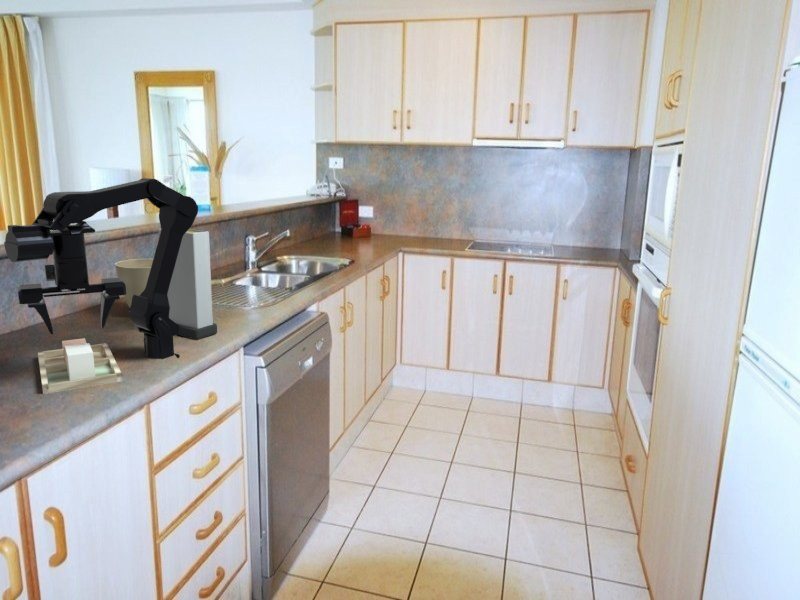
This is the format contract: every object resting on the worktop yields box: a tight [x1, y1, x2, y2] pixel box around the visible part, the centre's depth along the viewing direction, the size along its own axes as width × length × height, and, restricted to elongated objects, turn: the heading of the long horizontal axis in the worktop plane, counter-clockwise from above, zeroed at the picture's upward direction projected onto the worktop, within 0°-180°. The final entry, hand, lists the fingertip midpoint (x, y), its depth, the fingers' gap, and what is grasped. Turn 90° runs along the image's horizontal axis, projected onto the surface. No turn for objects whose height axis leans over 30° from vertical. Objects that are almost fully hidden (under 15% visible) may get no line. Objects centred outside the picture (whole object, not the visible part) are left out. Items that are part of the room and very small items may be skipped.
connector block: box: [65, 342, 95, 380], centre depth 116 cm, size 4×7×6 cm, turn 34°
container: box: [158, 228, 218, 340], centre depth 150 cm, size 7×18×30 cm, turn 62°
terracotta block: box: [61, 337, 87, 364], centre depth 125 cm, size 4×4×4 cm
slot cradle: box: [37, 342, 123, 395], centre depth 121 cm, size 23×14×2 cm, turn 34°
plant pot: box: [114, 258, 154, 309], centre depth 166 cm, size 15×15×16 cm
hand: (77, 330), depth 115 cm, fingers open, 9 cm apart
